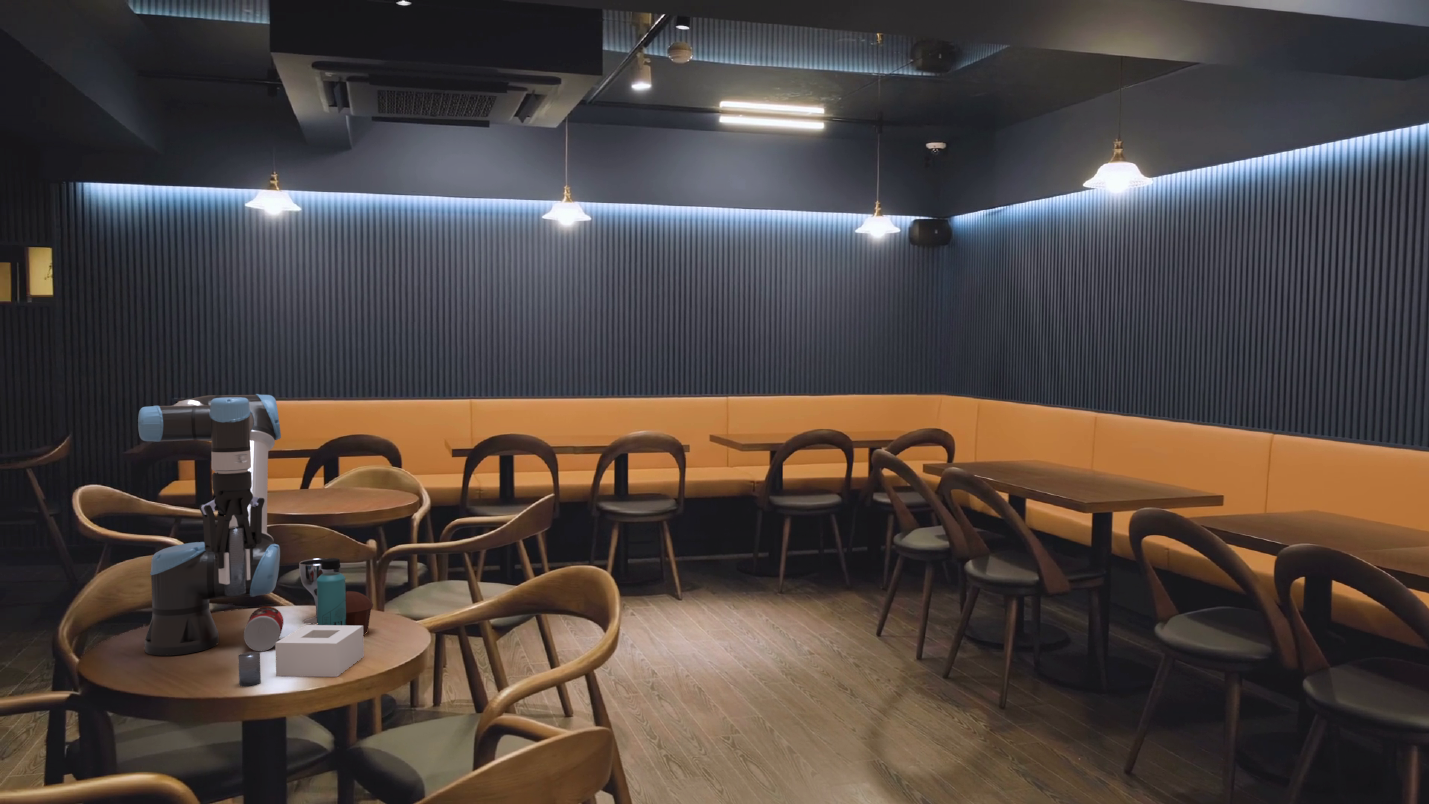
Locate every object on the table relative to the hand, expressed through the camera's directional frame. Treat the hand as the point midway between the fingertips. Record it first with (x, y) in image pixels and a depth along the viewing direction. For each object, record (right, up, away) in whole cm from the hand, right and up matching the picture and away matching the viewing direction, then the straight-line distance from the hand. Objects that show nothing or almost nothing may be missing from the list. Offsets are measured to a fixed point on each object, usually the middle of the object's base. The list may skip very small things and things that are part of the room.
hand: (234, 580), depth 217 cm
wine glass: (+1, -17, +42) cm, 45 cm away
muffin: (+14, -18, +29) cm, 37 cm away
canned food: (-4, -14, +25) cm, 29 cm away
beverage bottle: (+13, -18, +20) cm, 30 cm away
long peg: (0, -3, 0) cm, 3 cm away
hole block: (+17, -19, +4) cm, 26 cm away
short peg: (+7, -20, -8) cm, 22 cm away
